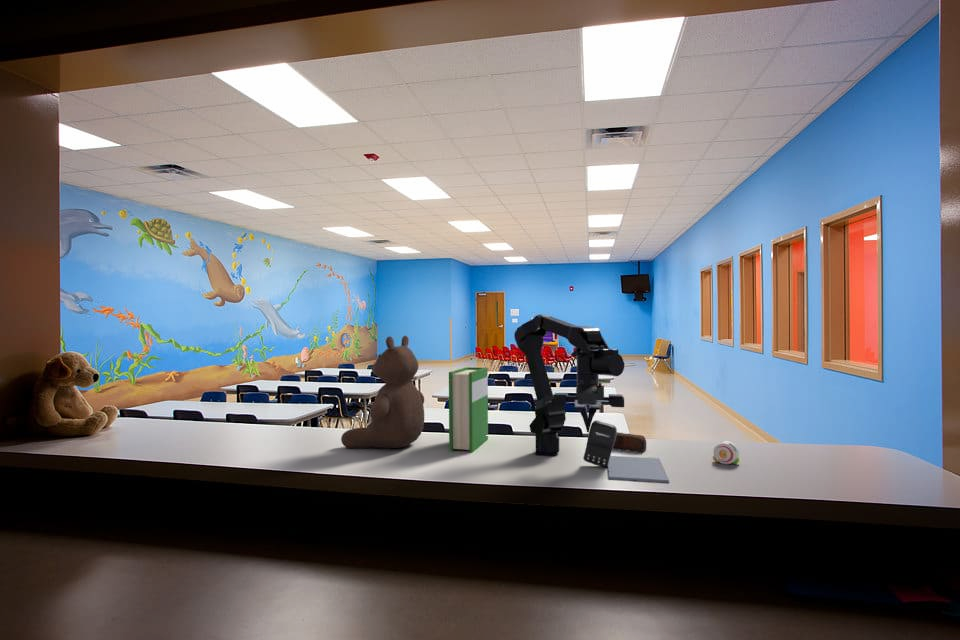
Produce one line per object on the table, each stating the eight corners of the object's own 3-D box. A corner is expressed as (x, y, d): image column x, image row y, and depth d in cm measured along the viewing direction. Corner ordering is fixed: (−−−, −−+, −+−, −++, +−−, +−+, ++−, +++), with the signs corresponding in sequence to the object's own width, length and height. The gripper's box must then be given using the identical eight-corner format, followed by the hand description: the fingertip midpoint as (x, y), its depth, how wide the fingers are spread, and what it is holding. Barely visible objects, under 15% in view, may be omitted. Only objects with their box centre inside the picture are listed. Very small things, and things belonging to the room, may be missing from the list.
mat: (609, 479, 123) (609, 476, 123) (607, 457, 142) (607, 455, 142) (669, 482, 120) (669, 480, 120) (659, 460, 139) (659, 458, 139)
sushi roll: (736, 467, 132) (736, 445, 132) (711, 463, 136) (710, 441, 136) (740, 463, 136) (740, 442, 136) (715, 459, 140) (715, 439, 140)
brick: (608, 449, 153) (608, 434, 153) (611, 446, 156) (611, 431, 156) (644, 453, 148) (644, 437, 148) (646, 450, 151) (646, 435, 151)
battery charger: (581, 461, 133) (592, 420, 132) (582, 458, 136) (592, 418, 136) (607, 470, 131) (618, 428, 130) (608, 466, 134) (618, 425, 134)
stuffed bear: (380, 433, 177) (377, 335, 178) (437, 437, 169) (435, 334, 170) (326, 454, 150) (324, 338, 151) (392, 459, 142) (389, 336, 143)
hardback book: (472, 452, 150) (471, 372, 150) (449, 451, 152) (448, 372, 152) (488, 439, 166) (487, 367, 167) (466, 438, 169) (466, 367, 169)
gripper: (549, 375, 129) (549, 436, 128) (624, 376, 124) (625, 440, 124) (553, 372, 139) (554, 428, 139) (623, 373, 135) (623, 431, 134)
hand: (588, 432), depth 134 cm, fingers closed
